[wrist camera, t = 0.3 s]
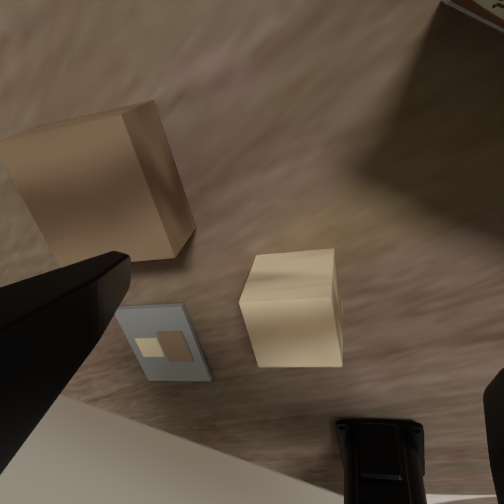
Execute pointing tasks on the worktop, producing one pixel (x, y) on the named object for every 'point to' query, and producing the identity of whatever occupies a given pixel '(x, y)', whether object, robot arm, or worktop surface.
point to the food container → (482, 11)
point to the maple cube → (294, 309)
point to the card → (164, 342)
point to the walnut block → (102, 185)
